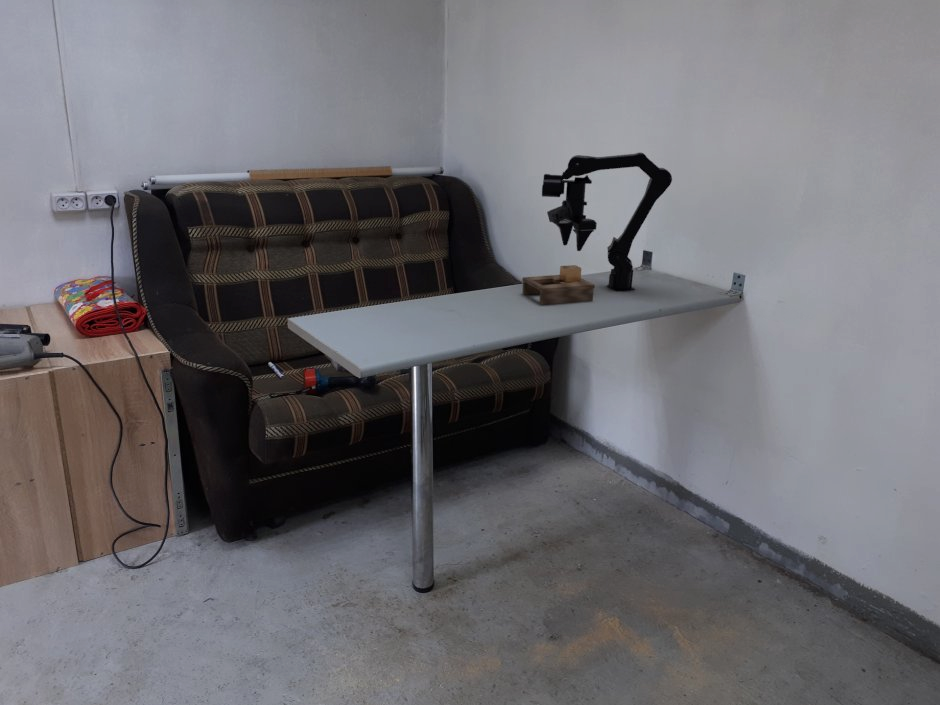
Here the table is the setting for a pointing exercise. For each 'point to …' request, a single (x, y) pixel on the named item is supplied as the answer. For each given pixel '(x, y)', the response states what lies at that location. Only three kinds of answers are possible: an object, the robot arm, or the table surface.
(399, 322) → the table surface
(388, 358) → the table surface
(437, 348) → the table surface
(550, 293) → the keyhole bracket
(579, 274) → the hanger peg
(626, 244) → the robot arm
